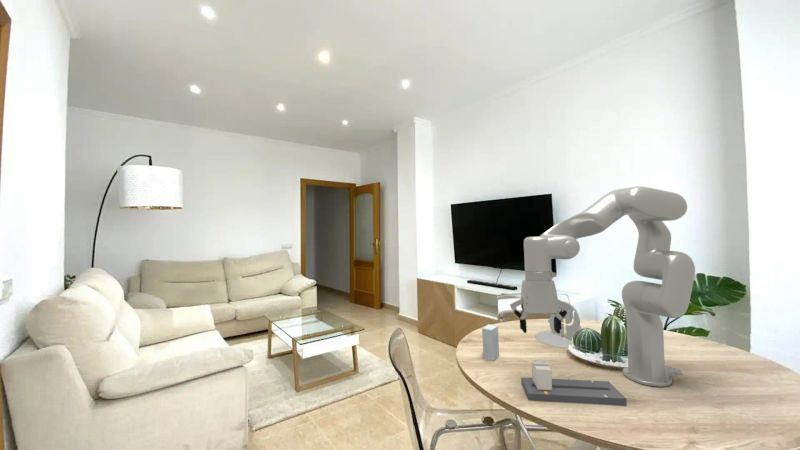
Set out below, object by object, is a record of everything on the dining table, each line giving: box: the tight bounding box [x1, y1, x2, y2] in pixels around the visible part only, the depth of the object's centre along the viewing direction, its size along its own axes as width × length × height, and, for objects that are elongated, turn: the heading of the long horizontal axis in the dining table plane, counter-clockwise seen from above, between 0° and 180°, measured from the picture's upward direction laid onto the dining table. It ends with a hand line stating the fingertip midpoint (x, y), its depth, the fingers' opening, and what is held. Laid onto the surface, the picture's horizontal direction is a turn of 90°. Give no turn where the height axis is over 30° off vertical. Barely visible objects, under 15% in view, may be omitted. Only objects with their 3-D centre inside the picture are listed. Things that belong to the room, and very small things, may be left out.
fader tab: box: [531, 360, 553, 390], centre depth 95 cm, size 4×6×6 cm
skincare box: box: [481, 323, 500, 362], centre depth 122 cm, size 6×4×12 cm
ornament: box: [534, 300, 583, 349], centre depth 138 cm, size 22×13×17 cm, turn 19°
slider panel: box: [520, 376, 628, 407], centre depth 94 cm, size 26×10×2 cm, turn 81°
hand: (540, 331), depth 96 cm, fingers open, 9 cm apart
